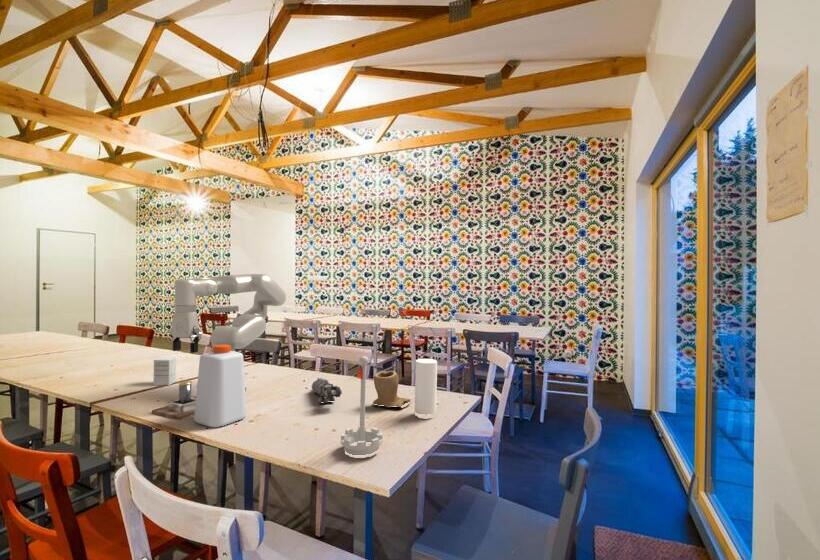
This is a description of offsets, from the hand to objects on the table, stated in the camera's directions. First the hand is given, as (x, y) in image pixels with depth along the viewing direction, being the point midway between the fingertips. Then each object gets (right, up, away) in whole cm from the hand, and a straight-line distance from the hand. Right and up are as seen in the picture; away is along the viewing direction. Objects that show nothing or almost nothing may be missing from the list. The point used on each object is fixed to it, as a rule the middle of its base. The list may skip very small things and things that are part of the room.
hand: (185, 351), depth 163 cm
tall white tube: (+98, -26, -3) cm, 102 cm away
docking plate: (+1, -23, -3) cm, 23 cm away
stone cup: (+83, -25, +7) cm, 87 cm away
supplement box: (-30, -23, +35) cm, 52 cm away
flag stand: (+76, -25, -37) cm, 88 cm away
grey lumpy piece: (+54, -25, +15) cm, 61 cm away
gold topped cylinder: (+1, -22, -3) cm, 22 cm away
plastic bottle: (+20, -24, -13) cm, 34 cm away
